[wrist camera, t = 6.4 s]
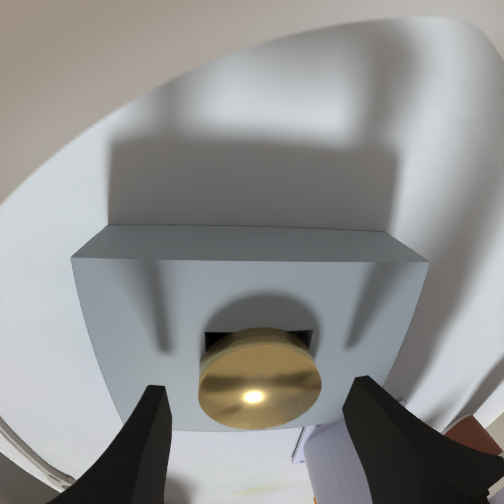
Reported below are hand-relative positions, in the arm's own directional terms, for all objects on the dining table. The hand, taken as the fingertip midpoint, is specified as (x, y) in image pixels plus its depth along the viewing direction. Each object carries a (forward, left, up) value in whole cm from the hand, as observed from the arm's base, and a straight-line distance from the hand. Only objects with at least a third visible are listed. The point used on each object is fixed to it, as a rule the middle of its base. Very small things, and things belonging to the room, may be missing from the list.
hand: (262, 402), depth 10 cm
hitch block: (0, 0, -6) cm, 6 cm away
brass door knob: (0, 0, -6) cm, 6 cm away
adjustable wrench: (+28, +25, -6) cm, 38 cm away
